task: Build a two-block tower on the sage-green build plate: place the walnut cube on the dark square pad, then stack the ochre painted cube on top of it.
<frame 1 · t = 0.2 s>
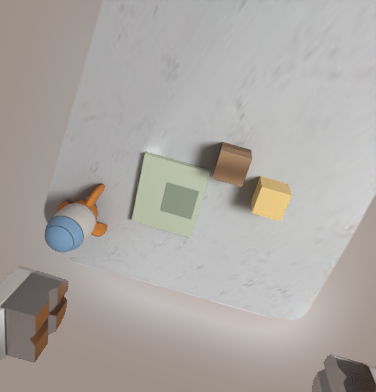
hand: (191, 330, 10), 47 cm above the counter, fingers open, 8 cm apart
build plate: (170, 195, 61), on the counter
ochre block: (269, 192, 58), on the counter
toy rocket: (94, 210, 65), on the counter
walnut block: (232, 159, 57), on the counter
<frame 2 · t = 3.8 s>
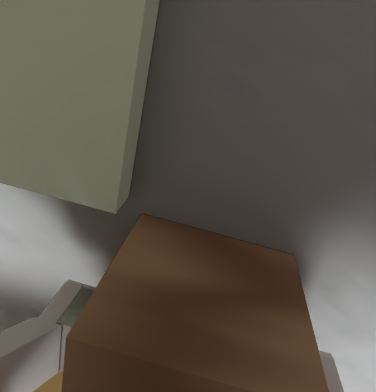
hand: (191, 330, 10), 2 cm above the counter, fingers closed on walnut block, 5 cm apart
walnut block: (198, 293, 11), on the counter, touching gripper
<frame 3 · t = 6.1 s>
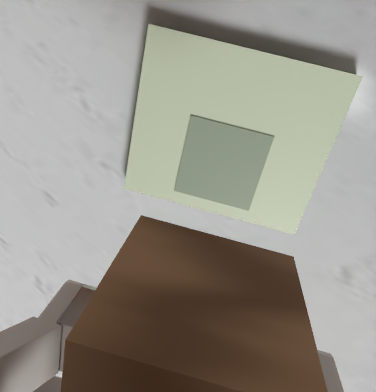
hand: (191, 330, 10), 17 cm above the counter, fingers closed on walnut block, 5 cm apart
build plate: (229, 135, 24), on the counter
walnut block: (198, 294, 11), point 15 cm above the counter, touching gripper
when the fingers open (4 cm above the counter, at t = 8.8 s): walnut block drops 1 cm, resting on build plate.
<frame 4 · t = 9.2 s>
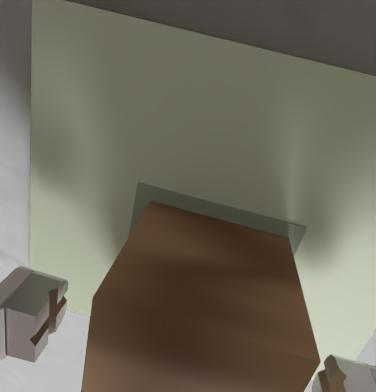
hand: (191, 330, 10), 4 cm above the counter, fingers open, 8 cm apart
build plate: (216, 213, 13), on the counter
walnut block: (202, 274, 12), point 1 cm above the counter, touching build plate
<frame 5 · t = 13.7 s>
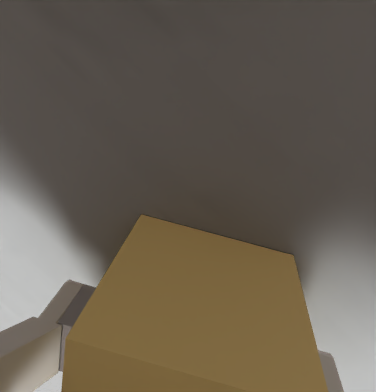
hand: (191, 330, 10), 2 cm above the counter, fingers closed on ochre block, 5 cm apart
ochre block: (198, 293, 11), on the counter, touching gripper
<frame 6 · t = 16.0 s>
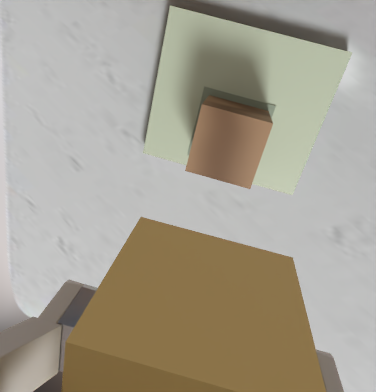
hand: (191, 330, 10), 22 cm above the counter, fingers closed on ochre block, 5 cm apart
build plate: (236, 106, 28), on the counter
ochre block: (198, 295, 11), point 20 cm above the counter, touching gripper
walnut block: (230, 132, 28), point 1 cm above the counter, touching build plate
when the fingers open (9 cm above the counter, at t = 18.8 s): ochre block drops 1 cm, resting on walnut block.
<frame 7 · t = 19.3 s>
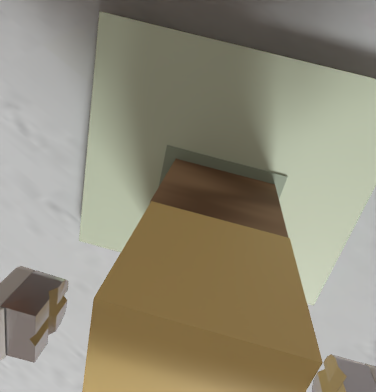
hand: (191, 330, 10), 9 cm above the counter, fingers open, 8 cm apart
build plate: (222, 170, 17), on the counter
ochre block: (203, 274, 12), point 6 cm above the counter, touching walnut block
walnut block: (212, 215, 17), point 1 cm above the counter, touching build plate, ochre block
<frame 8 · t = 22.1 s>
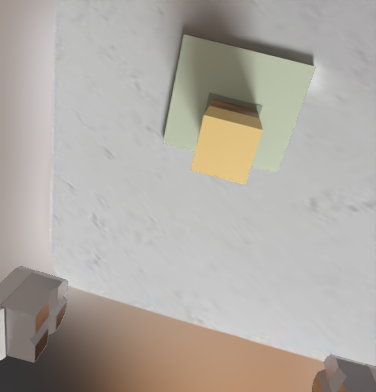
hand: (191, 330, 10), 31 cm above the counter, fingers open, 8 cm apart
build plate: (233, 106, 37), on the counter
ochre block: (227, 136, 32), point 6 cm above the counter, touching walnut block
walnut block: (228, 126, 37), point 1 cm above the counter, touching build plate, ochre block
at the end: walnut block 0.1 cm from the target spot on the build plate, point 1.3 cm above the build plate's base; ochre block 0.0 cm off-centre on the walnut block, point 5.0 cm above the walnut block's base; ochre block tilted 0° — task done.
